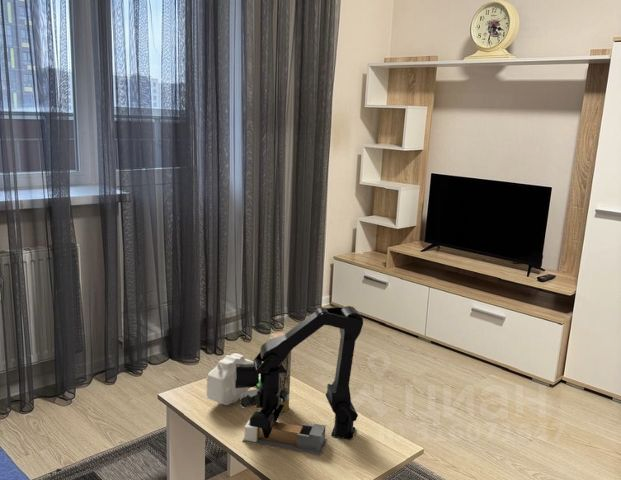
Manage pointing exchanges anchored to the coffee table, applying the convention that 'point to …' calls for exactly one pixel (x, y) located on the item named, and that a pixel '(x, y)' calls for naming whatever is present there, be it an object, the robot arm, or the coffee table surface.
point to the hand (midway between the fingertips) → (268, 433)
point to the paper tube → (284, 374)
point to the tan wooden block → (282, 433)
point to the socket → (250, 432)
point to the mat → (284, 445)
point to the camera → (225, 380)
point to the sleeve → (311, 437)
